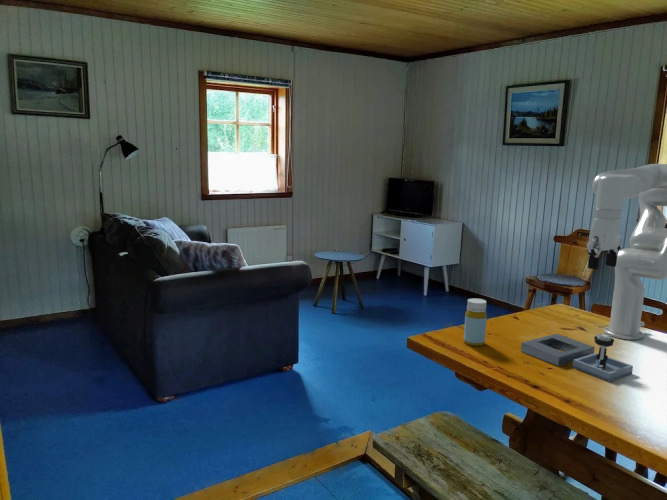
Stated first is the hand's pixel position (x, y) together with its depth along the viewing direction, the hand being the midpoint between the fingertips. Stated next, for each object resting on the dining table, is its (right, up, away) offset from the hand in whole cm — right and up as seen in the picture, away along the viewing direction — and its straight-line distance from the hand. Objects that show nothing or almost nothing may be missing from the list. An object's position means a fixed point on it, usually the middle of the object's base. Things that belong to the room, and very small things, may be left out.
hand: (601, 267), depth 168 cm
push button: (-6, -30, -11) cm, 33 cm away
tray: (-6, -31, -11) cm, 33 cm away
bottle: (-39, -26, +10) cm, 48 cm away
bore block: (-14, -28, +2) cm, 31 cm away
